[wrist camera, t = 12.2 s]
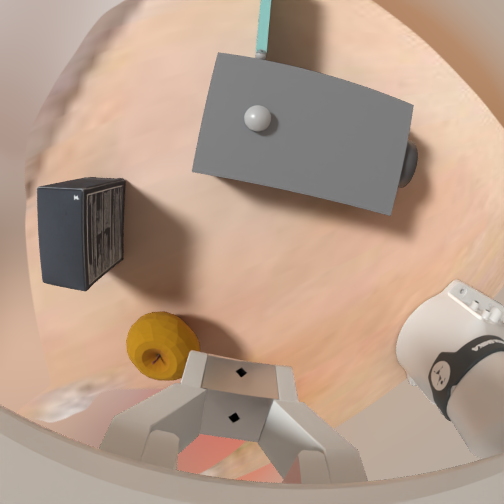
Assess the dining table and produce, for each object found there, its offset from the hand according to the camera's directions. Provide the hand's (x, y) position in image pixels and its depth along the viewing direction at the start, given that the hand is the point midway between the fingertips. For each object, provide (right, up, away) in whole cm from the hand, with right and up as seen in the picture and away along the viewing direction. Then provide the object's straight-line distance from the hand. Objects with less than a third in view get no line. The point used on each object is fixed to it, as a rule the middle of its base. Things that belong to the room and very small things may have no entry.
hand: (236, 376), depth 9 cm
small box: (-18, +8, +28) cm, 35 cm away
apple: (-10, -6, +32) cm, 35 cm away
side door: (+2, +31, +21) cm, 37 cm away
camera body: (+7, +17, +26) cm, 31 cm away
